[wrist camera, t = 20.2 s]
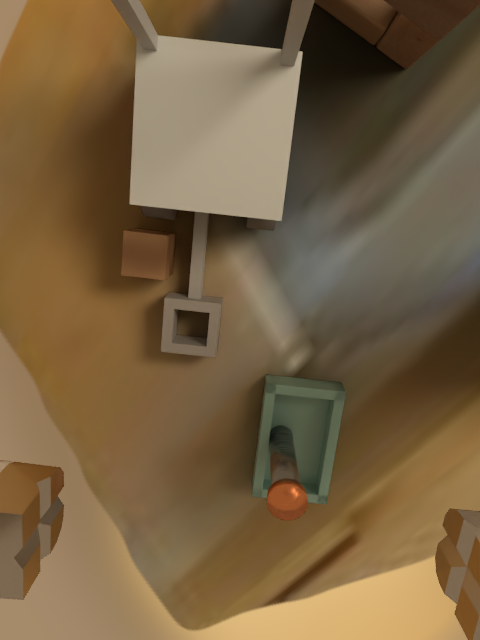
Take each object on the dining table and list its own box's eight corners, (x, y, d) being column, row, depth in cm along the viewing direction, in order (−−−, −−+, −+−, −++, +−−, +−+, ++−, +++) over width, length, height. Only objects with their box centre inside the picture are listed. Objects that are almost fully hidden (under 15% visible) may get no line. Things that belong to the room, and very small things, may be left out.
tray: (341, 382, 47) (346, 391, 45) (322, 490, 50) (326, 504, 48) (265, 374, 47) (266, 383, 45) (251, 482, 50) (252, 496, 48)
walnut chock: (173, 273, 45) (165, 280, 40) (133, 268, 45) (120, 275, 40) (176, 233, 44) (168, 235, 40) (135, 228, 44) (123, 230, 39)
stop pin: (298, 424, 48) (310, 488, 37) (294, 452, 49) (304, 522, 38) (266, 420, 48) (270, 483, 37) (263, 448, 49) (264, 517, 38)
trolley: (293, 71, 40) (341, -77, 19) (258, 352, 47) (266, 468, 26) (160, 56, 40) (65, -109, 19) (144, 340, 46) (59, 446, 26)
